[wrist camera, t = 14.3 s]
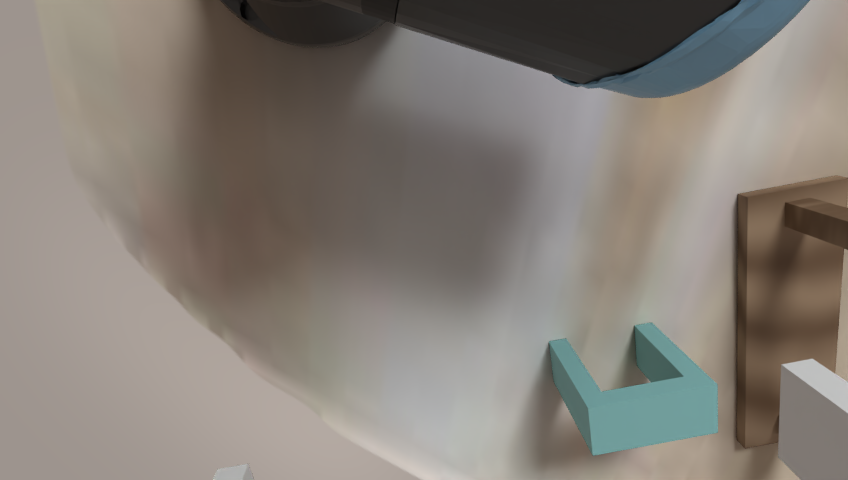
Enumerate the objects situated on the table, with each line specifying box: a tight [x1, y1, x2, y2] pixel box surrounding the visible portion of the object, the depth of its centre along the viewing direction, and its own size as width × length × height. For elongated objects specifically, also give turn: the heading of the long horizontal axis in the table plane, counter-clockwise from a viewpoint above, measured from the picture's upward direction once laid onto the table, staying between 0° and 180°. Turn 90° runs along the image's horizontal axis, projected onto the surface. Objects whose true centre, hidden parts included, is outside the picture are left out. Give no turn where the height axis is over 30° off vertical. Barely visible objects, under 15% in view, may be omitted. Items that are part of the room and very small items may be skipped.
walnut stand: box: [737, 176, 848, 448], centre depth 38 cm, size 24×8×13 cm, turn 10°
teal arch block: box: [549, 322, 718, 456], centre depth 40 cm, size 4×9×10 cm, turn 100°
